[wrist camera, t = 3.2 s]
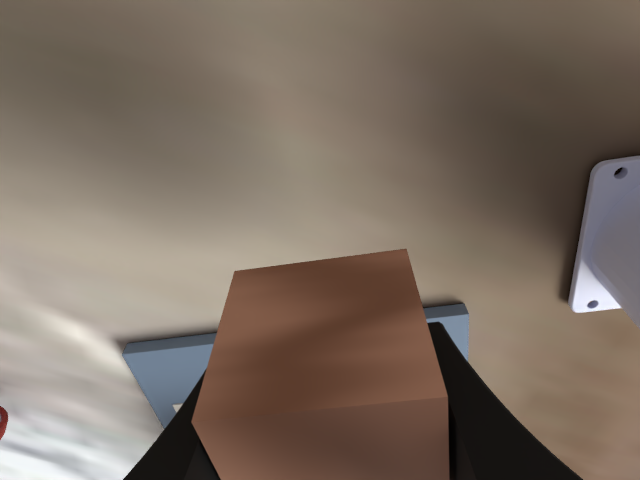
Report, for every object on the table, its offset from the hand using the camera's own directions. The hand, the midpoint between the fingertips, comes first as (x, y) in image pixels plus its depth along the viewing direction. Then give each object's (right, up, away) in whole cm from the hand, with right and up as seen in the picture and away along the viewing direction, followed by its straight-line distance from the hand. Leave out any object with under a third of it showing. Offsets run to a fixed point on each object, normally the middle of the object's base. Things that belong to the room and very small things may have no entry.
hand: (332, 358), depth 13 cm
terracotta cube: (0, +1, +1) cm, 1 cm away
